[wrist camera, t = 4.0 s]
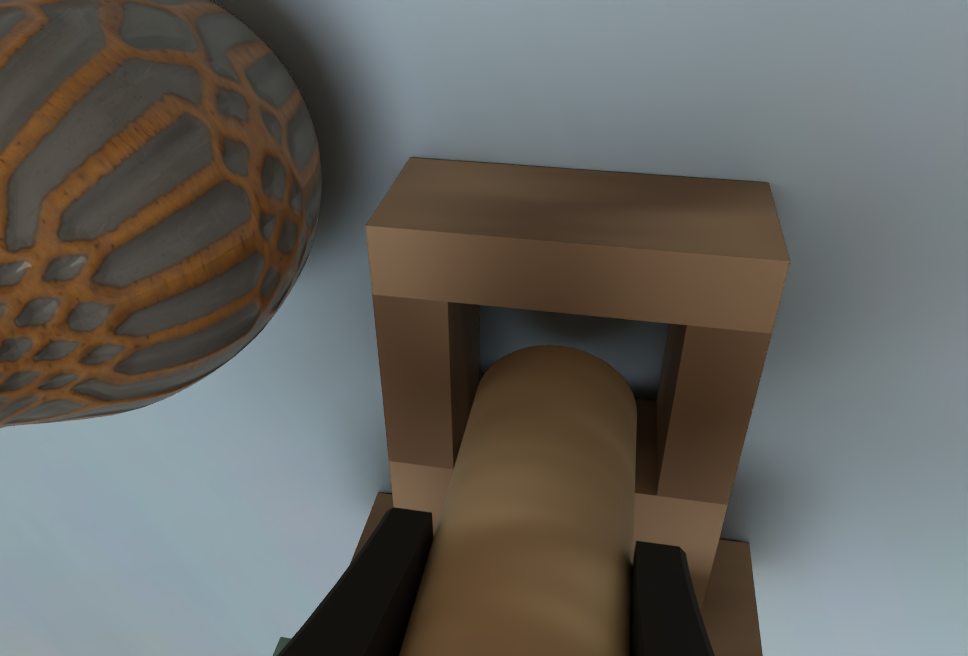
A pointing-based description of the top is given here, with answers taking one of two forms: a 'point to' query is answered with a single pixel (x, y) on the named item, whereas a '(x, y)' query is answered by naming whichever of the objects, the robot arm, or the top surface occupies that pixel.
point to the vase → (141, 200)
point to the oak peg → (535, 516)
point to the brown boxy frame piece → (594, 292)
